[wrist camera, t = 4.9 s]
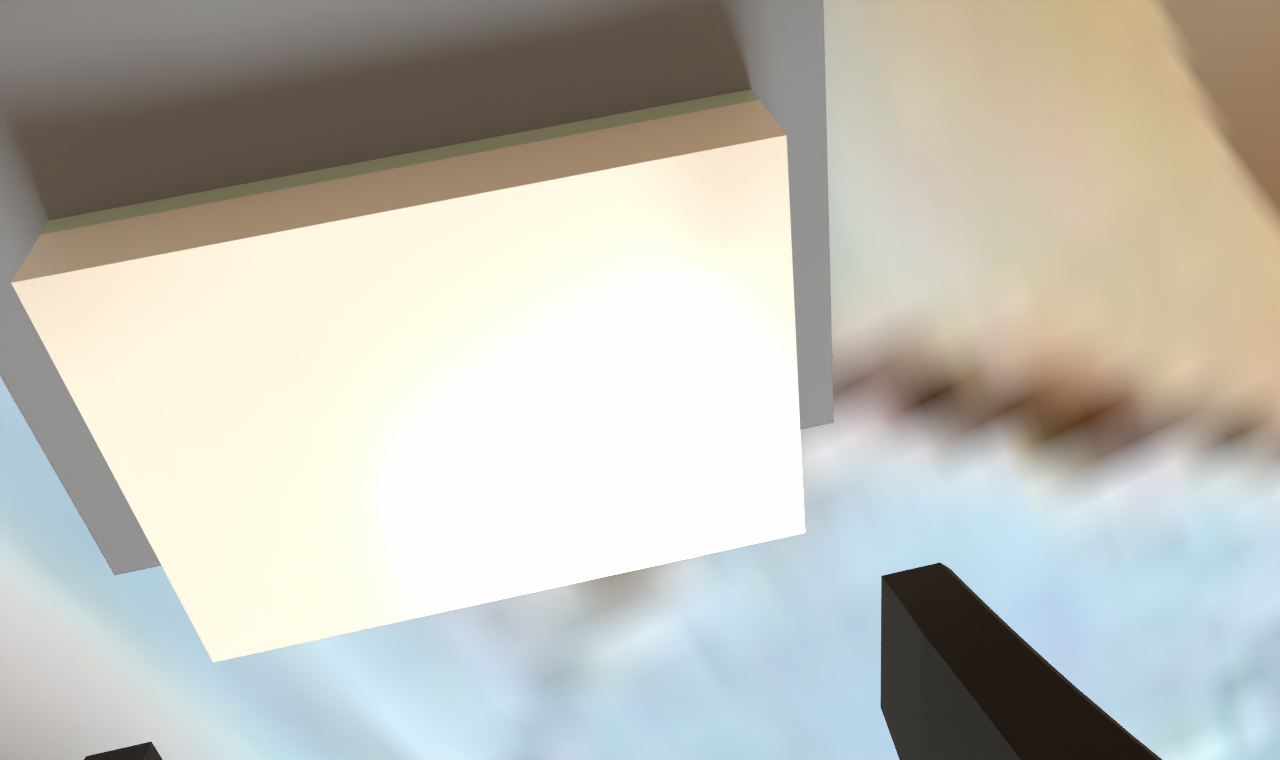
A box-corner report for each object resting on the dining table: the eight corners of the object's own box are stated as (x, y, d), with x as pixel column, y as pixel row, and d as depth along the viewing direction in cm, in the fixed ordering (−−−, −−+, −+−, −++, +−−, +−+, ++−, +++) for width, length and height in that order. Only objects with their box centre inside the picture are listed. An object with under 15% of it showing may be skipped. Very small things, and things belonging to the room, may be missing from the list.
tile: (212, 662, 16) (11, 283, 12) (227, 584, 17) (48, 220, 14) (804, 532, 17) (786, 134, 13) (775, 467, 18) (751, 89, 14)
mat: (119, 557, 17) (114, 575, 17) (-253, -108, 11) (-273, -100, 11) (826, 408, 18) (833, 422, 18) (805, -280, 12) (816, -277, 12)
